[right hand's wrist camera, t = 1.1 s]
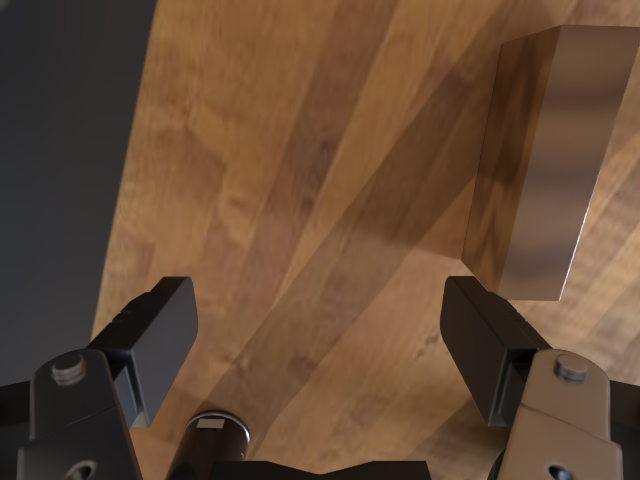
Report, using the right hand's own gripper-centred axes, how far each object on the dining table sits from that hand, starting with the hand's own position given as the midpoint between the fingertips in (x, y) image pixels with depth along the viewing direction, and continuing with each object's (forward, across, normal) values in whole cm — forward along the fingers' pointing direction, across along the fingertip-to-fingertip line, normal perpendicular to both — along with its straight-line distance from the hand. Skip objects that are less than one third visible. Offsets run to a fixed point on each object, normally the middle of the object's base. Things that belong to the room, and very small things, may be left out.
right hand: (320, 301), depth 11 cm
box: (+28, +20, 0) cm, 35 cm away
